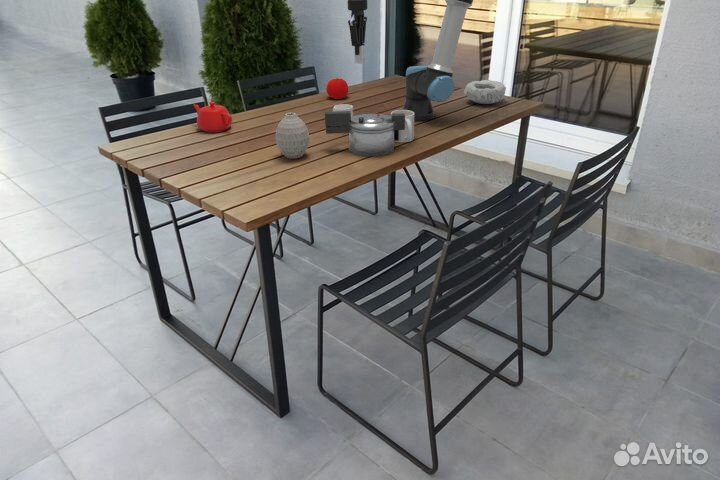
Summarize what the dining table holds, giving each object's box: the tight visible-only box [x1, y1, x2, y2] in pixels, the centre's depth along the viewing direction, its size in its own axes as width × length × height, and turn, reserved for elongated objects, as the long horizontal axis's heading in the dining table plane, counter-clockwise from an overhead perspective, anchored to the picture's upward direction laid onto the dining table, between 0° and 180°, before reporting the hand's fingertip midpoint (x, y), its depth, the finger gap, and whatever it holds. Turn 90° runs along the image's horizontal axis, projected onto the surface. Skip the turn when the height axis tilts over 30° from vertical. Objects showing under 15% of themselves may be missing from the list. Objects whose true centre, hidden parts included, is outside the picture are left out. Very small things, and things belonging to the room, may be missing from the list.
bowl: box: [463, 79, 507, 105], centre depth 274 cm, size 21×20×10 cm
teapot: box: [193, 101, 233, 133], centre depth 244 cm, size 25×16×12 cm, turn 53°
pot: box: [324, 123, 405, 157], centre depth 216 cm, size 31×19×10 cm, turn 96°
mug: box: [390, 109, 415, 143], centre depth 225 cm, size 10×12×11 cm
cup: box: [332, 103, 354, 117], centre depth 241 cm, size 8×12×10 cm
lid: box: [324, 110, 405, 131], centre depth 213 cm, size 31×19×5 cm, turn 92°
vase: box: [275, 112, 310, 160], centre depth 209 cm, size 13×13×17 cm
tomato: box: [326, 78, 350, 100], centre depth 288 cm, size 12×12×10 cm
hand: (358, 63), depth 218 cm, fingers closed
